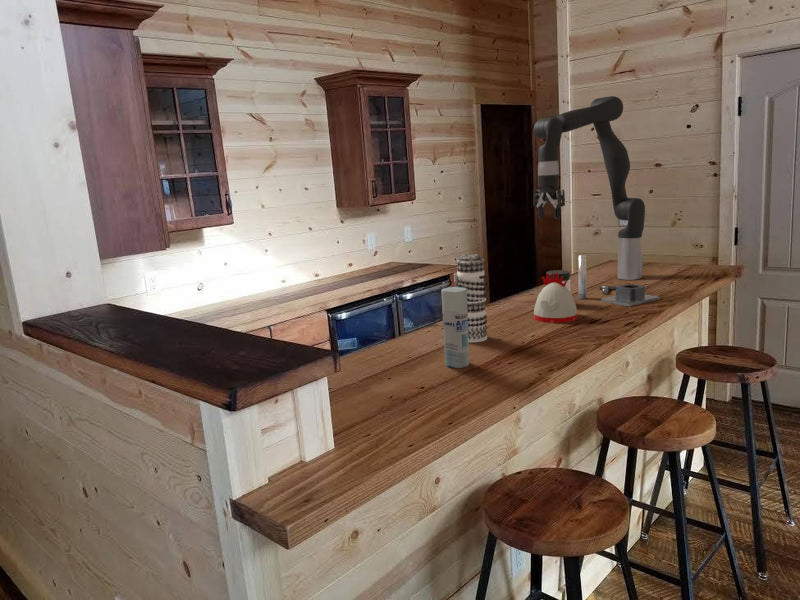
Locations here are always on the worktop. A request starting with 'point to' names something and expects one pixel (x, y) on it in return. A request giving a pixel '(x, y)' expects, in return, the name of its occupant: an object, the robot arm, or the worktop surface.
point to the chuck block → (630, 296)
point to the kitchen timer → (555, 302)
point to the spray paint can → (455, 326)
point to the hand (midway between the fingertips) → (548, 217)
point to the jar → (561, 273)
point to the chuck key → (607, 288)
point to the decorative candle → (474, 294)
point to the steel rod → (581, 276)
